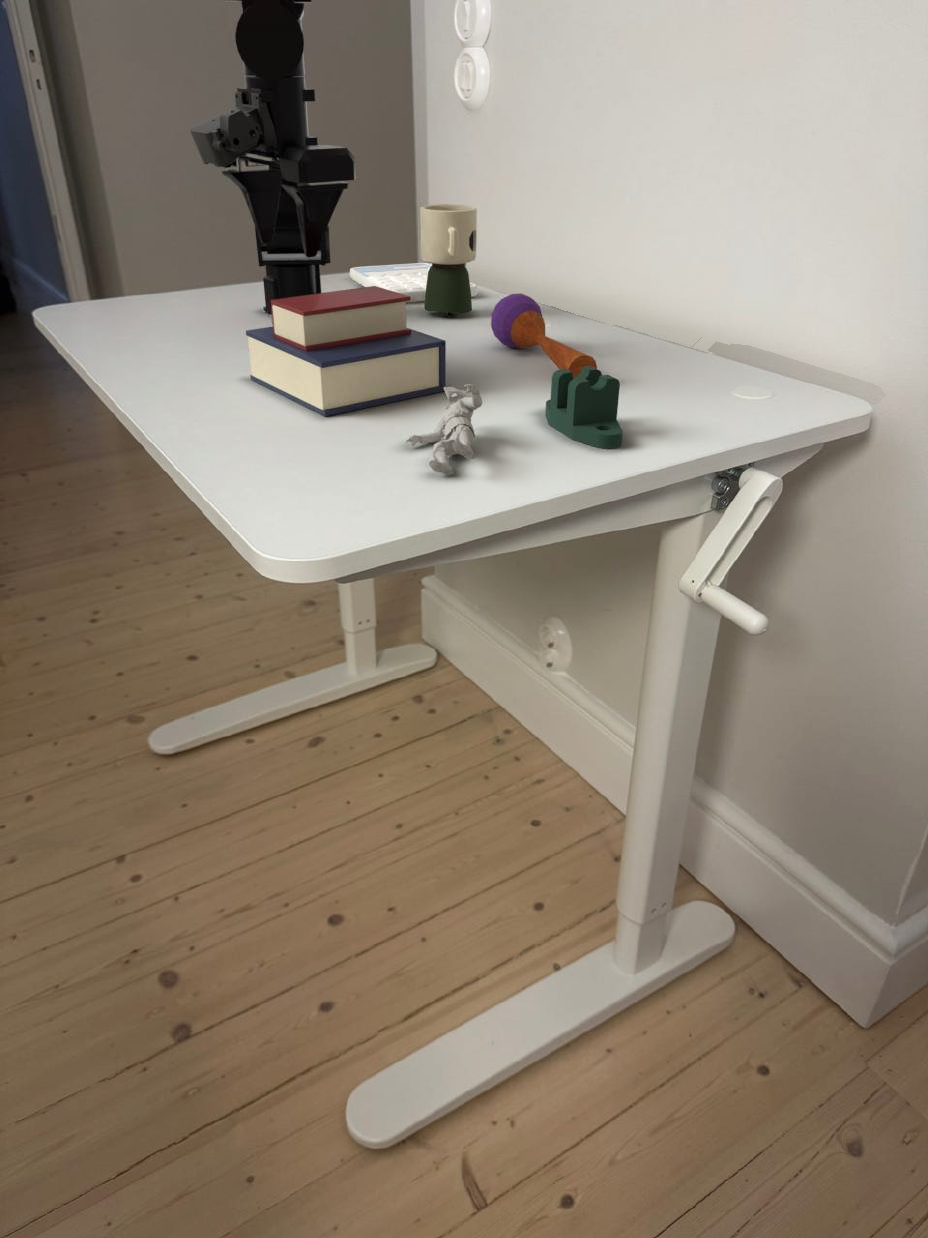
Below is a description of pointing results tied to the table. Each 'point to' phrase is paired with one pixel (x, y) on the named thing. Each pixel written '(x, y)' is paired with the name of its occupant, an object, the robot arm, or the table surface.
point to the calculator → (398, 279)
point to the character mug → (448, 255)
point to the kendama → (533, 332)
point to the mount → (585, 407)
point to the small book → (339, 317)
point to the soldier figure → (453, 429)
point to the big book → (349, 370)
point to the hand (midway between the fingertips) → (288, 249)
